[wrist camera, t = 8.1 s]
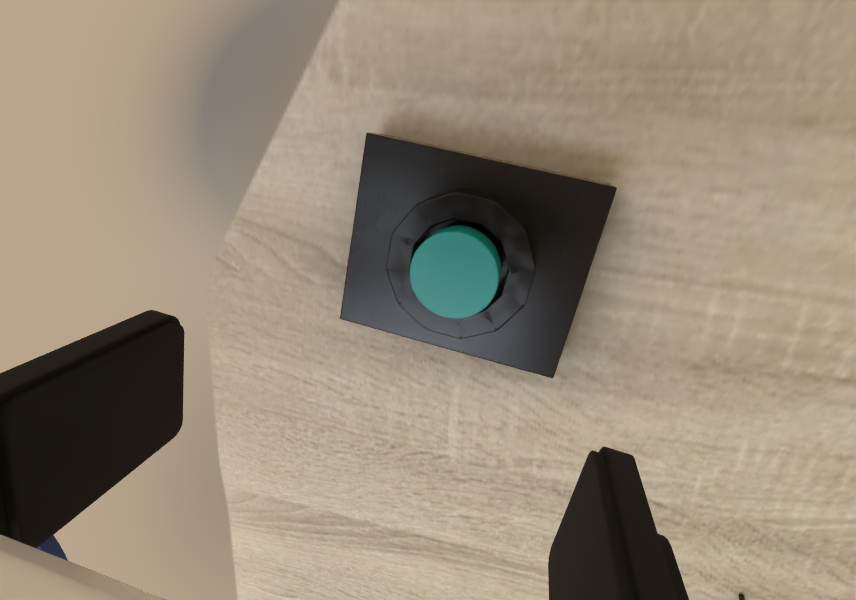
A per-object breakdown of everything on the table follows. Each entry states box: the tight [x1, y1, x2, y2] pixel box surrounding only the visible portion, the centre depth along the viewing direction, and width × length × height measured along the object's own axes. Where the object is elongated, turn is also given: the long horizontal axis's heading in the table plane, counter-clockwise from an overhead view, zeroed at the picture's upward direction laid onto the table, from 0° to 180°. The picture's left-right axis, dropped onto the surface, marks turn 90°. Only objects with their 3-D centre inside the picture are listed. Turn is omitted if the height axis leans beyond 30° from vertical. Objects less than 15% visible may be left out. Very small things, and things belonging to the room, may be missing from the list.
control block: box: [340, 133, 617, 378], centre depth 24 cm, size 12×10×4 cm
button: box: [410, 225, 501, 319], centre depth 21 cm, size 4×4×2 cm
